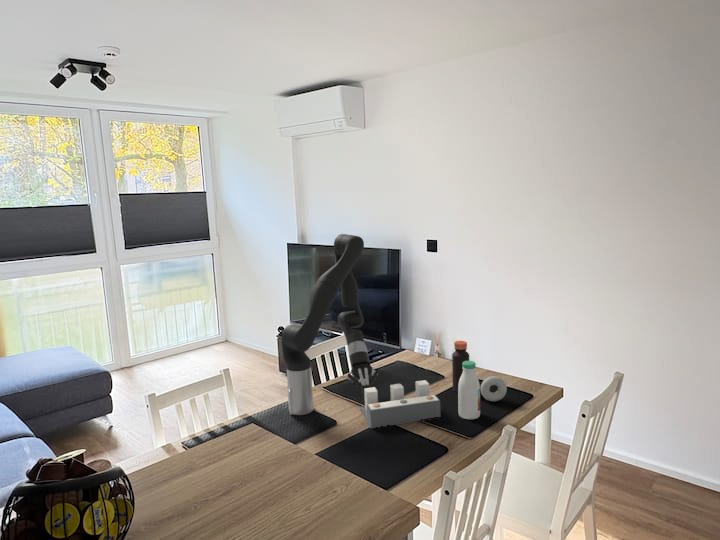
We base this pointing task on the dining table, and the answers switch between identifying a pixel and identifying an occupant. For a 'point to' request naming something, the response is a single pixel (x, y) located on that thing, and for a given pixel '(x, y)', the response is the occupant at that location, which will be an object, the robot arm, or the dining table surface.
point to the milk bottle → (469, 392)
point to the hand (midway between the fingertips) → (367, 395)
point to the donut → (496, 395)
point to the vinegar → (458, 361)
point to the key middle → (396, 392)
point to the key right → (422, 388)
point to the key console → (401, 411)
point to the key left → (370, 396)
